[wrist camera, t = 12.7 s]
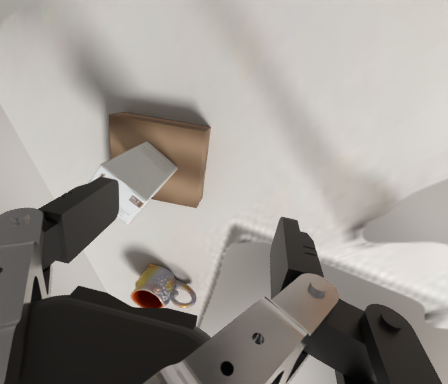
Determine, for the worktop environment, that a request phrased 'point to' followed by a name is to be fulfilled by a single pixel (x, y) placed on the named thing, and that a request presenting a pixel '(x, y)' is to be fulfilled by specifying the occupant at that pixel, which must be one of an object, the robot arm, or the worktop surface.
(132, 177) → the skincare box
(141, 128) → the base
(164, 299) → the mug
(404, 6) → the worktop surface
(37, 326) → the robot arm
